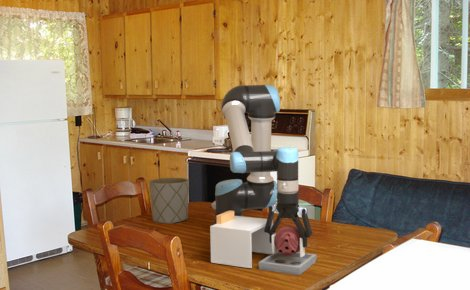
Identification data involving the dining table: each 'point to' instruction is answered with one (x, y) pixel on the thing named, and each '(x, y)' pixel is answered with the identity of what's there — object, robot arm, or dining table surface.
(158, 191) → the planter
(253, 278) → the dining table surface
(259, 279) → the dining table surface
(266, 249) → the white open cubby
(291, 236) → the mechanical component
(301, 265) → the grey shallow tray
